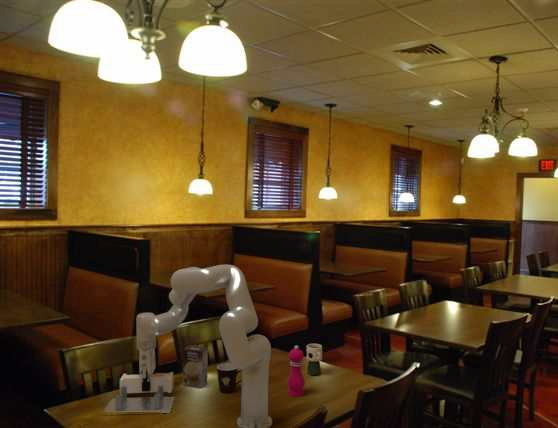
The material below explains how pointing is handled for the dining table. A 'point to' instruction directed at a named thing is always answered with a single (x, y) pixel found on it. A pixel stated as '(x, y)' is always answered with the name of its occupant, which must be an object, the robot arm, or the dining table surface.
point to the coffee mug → (227, 378)
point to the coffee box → (195, 366)
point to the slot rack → (140, 403)
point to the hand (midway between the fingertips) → (147, 388)
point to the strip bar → (155, 380)
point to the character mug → (314, 358)
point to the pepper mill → (296, 373)
